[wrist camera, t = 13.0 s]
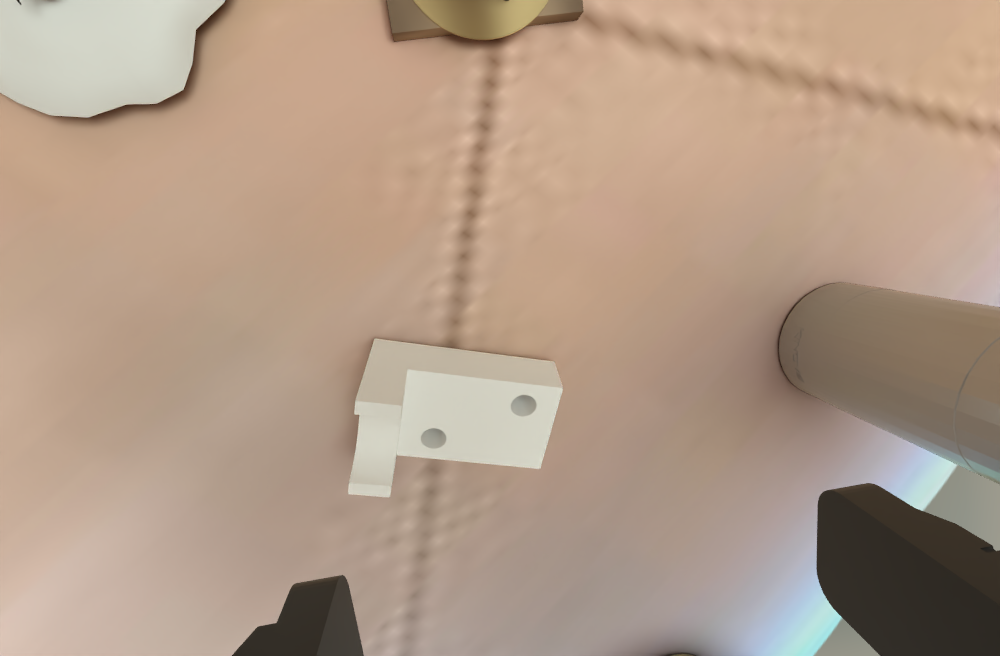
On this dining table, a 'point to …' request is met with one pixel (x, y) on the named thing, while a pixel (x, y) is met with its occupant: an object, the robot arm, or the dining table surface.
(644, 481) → the dining table surface
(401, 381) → the bracket
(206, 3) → the figurine
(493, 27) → the gauge board
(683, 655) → the plant pot
